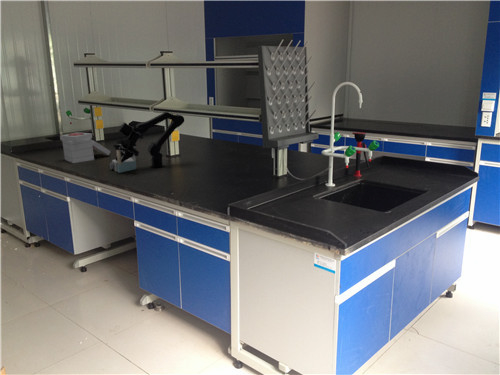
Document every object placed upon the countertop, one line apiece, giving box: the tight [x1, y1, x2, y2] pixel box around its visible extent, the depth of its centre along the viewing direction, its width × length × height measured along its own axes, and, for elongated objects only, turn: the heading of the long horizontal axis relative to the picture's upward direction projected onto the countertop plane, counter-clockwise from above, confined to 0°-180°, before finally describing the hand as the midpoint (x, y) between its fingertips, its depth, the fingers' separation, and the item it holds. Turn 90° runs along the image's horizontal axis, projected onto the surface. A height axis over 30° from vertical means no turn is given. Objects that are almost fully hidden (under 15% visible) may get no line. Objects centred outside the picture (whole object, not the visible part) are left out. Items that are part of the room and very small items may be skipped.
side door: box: [115, 149, 138, 174], centre depth 269 cm, size 13×2×14 cm, turn 136°
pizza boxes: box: [59, 131, 112, 164], centre depth 306 cm, size 19×30×18 cm, turn 133°
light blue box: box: [109, 158, 134, 172], centre depth 276 cm, size 14×10×6 cm
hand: (118, 161), depth 264 cm, fingers open, 5 cm apart
